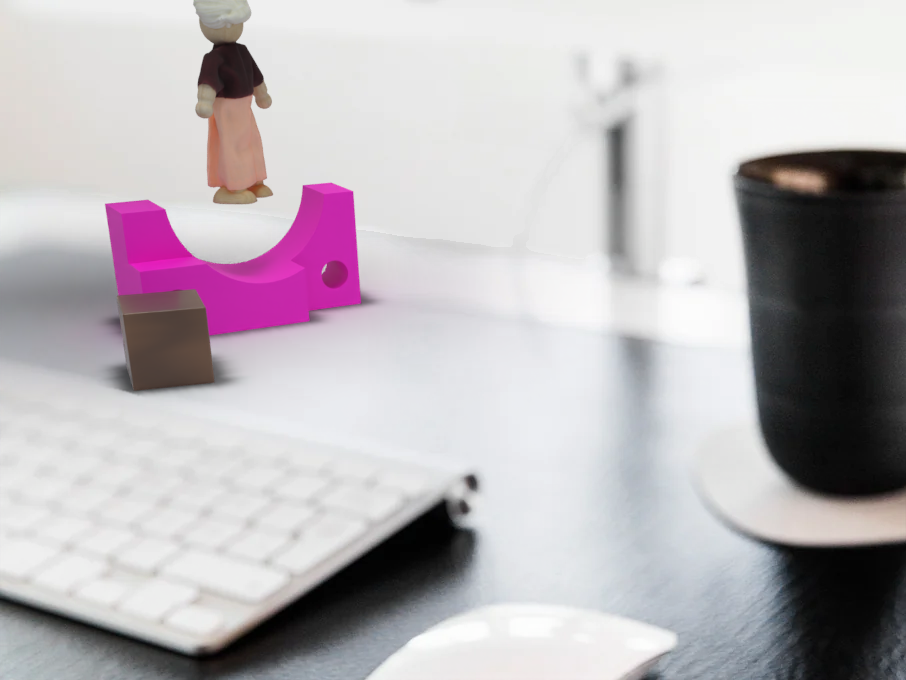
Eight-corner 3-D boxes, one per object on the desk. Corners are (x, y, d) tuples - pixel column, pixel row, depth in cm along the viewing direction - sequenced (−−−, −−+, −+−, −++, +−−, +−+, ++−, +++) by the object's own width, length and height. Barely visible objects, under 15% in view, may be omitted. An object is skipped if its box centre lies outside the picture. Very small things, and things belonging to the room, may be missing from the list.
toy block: (149, 345, 86) (132, 220, 83) (122, 322, 91) (104, 203, 88) (376, 313, 94) (368, 197, 90) (339, 293, 98) (331, 182, 95)
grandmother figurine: (231, 188, 93) (208, -23, 87) (287, 189, 93) (269, -22, 87) (187, 210, 86) (160, -17, 80) (248, 212, 86) (226, -16, 80)
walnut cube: (134, 392, 78) (122, 314, 76) (127, 370, 82) (116, 295, 80) (215, 384, 80) (206, 307, 78) (204, 363, 83) (196, 288, 81)
